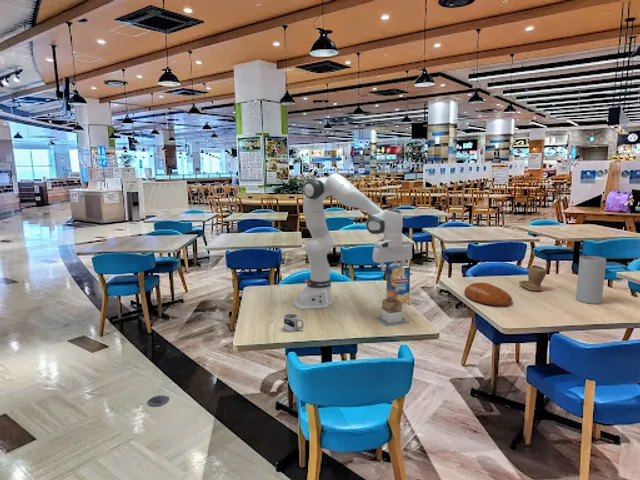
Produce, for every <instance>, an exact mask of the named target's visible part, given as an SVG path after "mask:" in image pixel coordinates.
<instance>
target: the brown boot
mask: <svg viewBox="0 0 640 480" xmlns="http://www.w3.org/2000/svg"><path fill="white" fill-rule="evenodd" d="M527 275H528V276H527V277H528V278H527V279H528V280H520V281H518V284H519V285H520V286H522V287H523V288H525V289H527V290H528V291H529V290H530V291H532V292H533V291H534V292H541V291H544V288H543V286H542V282H543V280H544V279H545V278H546V275H547V268H545V267H542V266H540V265H535V264H531V265H530V266H529V267H528V272H527Z"/></svg>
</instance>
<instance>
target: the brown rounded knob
mask: <svg viewBox="0 0 640 480" xmlns="http://www.w3.org/2000/svg"><path fill="white" fill-rule="evenodd" d="M387 301H388V302H397V290H392V289H391V290H387Z"/></svg>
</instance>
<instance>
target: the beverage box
mask: <svg viewBox="0 0 640 480" xmlns="http://www.w3.org/2000/svg"><path fill="white" fill-rule="evenodd" d="M399 265H400V264H396V265H394V264H393V265H386V290H385V291H386V297H385V299H387V290H391V289H392V290H397V299H398V300H399V301H401V302H402V305H404V304H406V305H410V292H411V291H410V290H411V289H410V288H411V287H410V286H411V285H410V283H411V267H410V266H409V265H406V264H404V266H403V269H399Z"/></svg>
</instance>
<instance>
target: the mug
mask: <svg viewBox="0 0 640 480" xmlns="http://www.w3.org/2000/svg"><path fill="white" fill-rule="evenodd" d="M299 322H301V326H299ZM283 328H284V331H285V332H288V333H292V332H296V331H298V330H302V329H304V319H302V318H300V317H299V316H298V314H296V313H287V314H284V315H283Z"/></svg>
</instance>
